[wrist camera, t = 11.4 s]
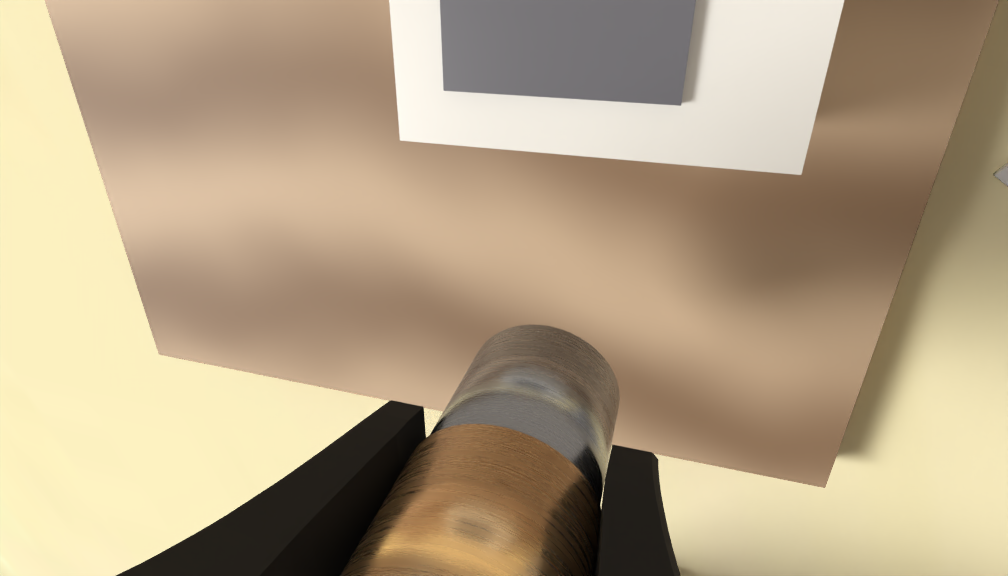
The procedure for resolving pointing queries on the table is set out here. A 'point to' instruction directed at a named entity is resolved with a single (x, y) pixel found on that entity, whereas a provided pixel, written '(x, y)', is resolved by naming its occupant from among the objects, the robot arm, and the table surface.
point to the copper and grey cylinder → (505, 468)
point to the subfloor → (510, 222)
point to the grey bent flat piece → (1002, 174)
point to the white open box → (617, 77)
